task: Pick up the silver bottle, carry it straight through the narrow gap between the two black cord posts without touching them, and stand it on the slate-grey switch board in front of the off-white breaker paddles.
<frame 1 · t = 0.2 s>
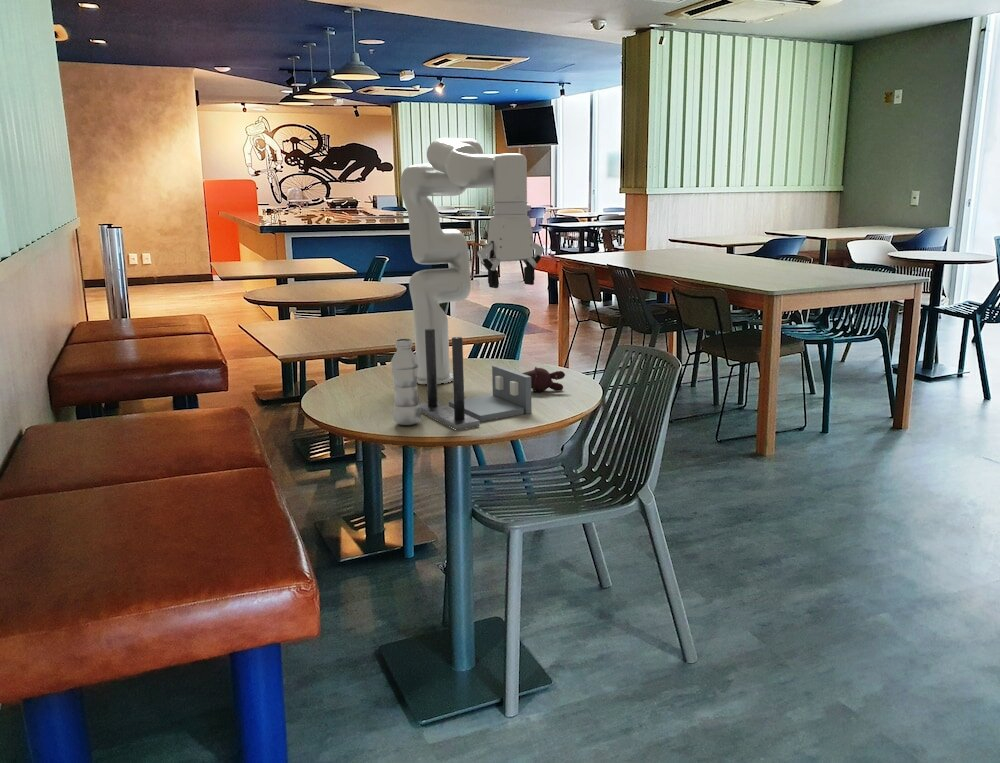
hand: (511, 286, 185), 31 cm above the table, tool pointing down, fingers open, 9 cm apart
switch board: (485, 410, 197), on the table
cord gate: (445, 418, 191), on the table
dark brown rounded figure: (536, 392, 215), on the table
silver bottle: (407, 425, 186), on the table
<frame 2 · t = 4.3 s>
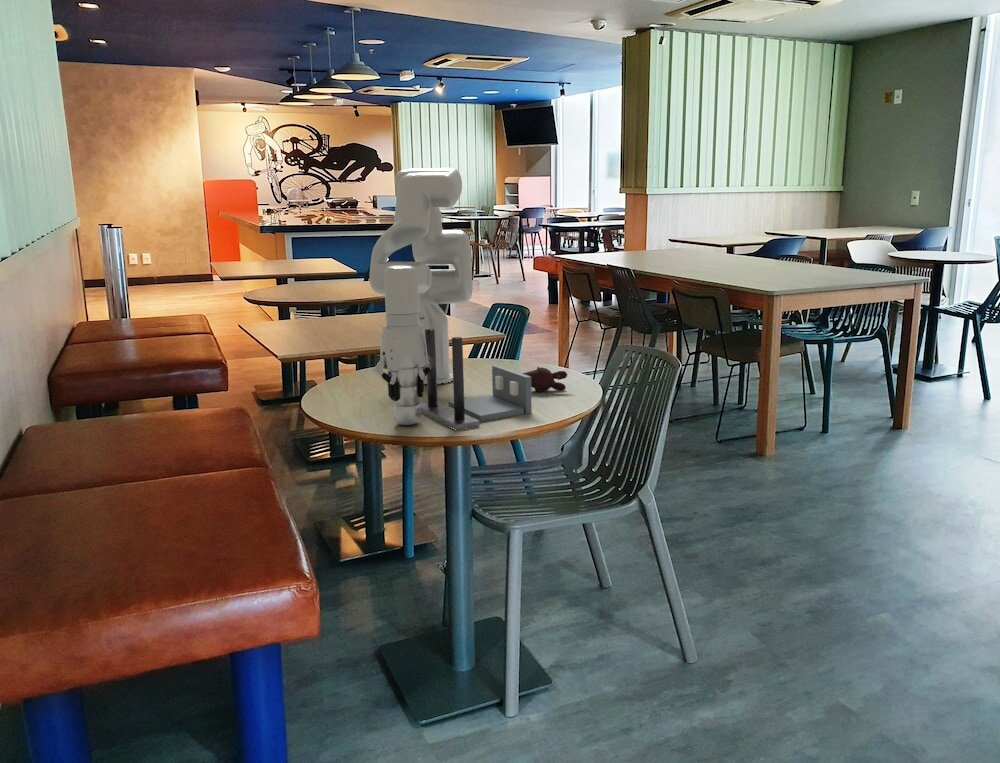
hand: (406, 397, 185), 7 cm above the table, tool pointing down, fingers closed on silver bottle, 5 cm apart
silver bottle: (407, 425, 186), on the table, touching gripper
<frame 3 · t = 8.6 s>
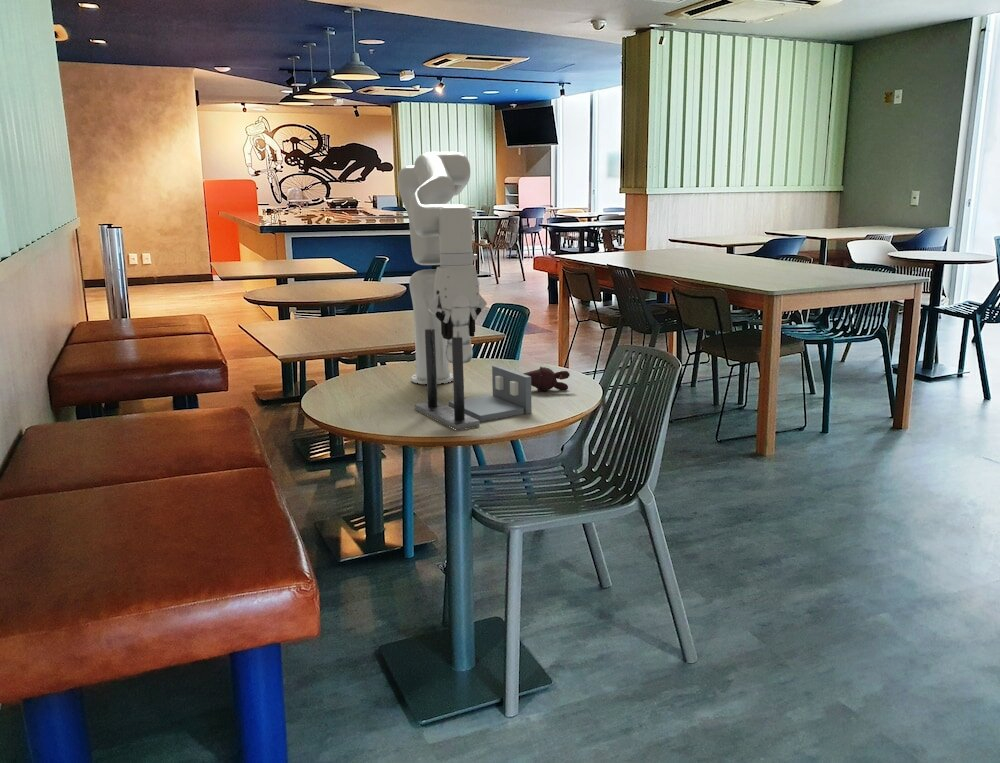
hand: (458, 336, 189), 19 cm above the table, tool pointing down, fingers closed on silver bottle, 5 cm apart
silver bottle: (459, 364, 191), point 12 cm above the table, touching gripper
when the fingers open (9 cm above the table, at t = 13.0 s): silver bottle drops 1 cm, resting on switch board.
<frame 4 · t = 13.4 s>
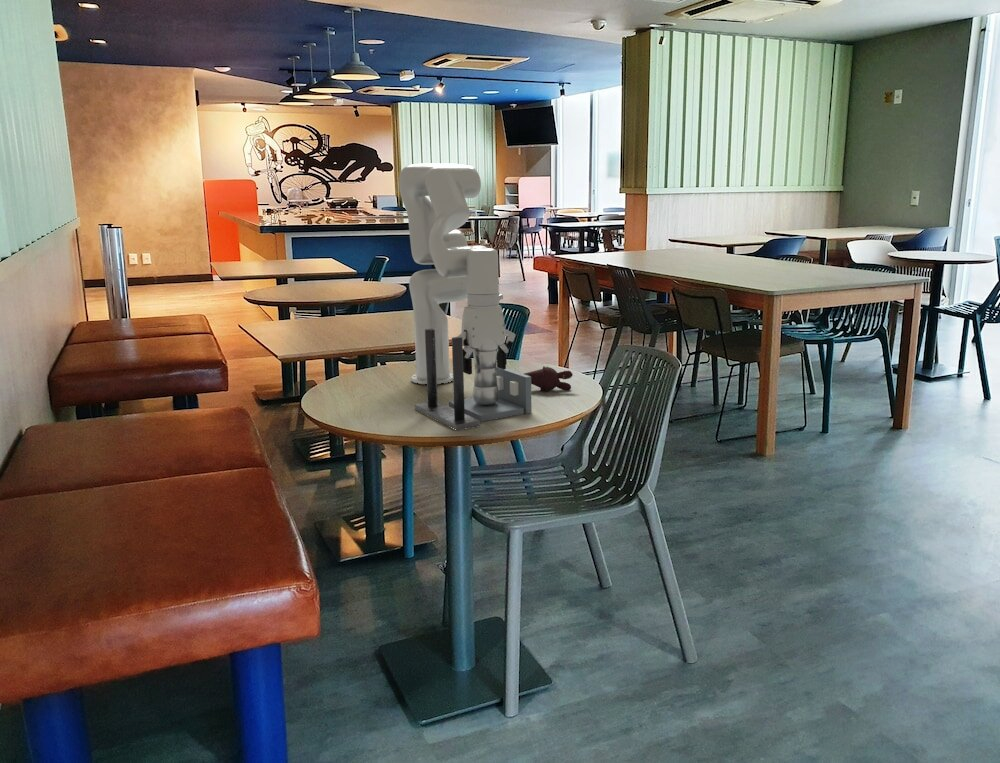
hand: (484, 370, 194), 10 cm above the table, tool pointing down, fingers open, 9 cm apart
silver bottle: (485, 405, 196), point 1 cm above the table, touching switch board
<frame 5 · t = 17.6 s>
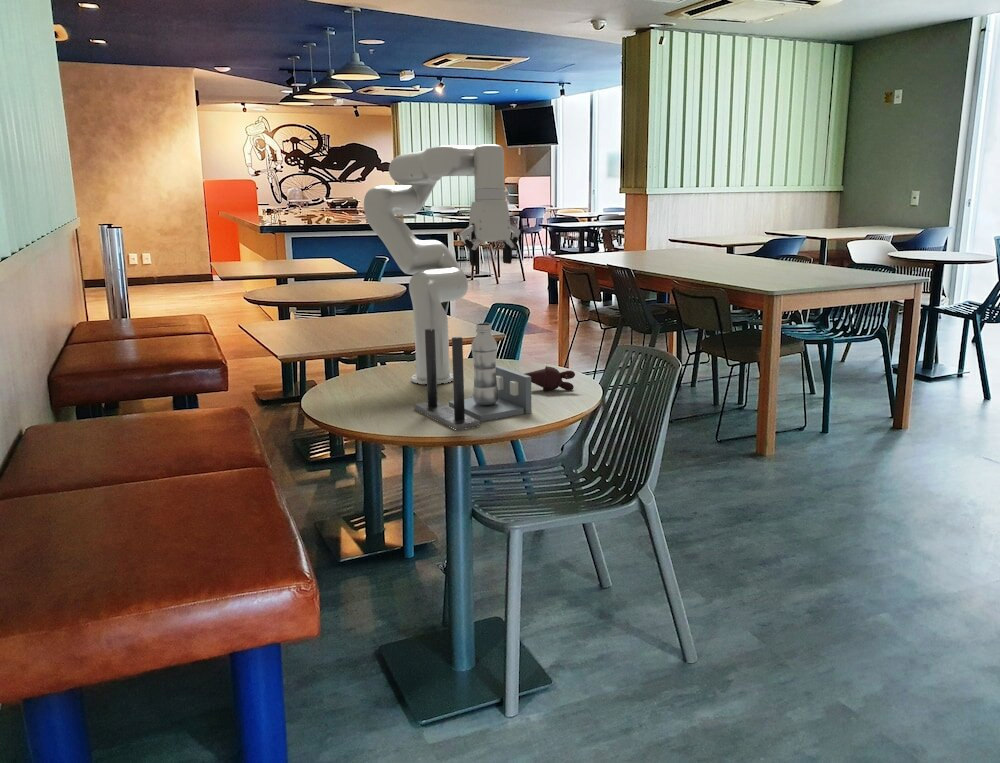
hand: (491, 264, 205), 34 cm above the table, tool pointing down, fingers open, 9 cm apart
at the end: silver bottle inside the target area on the switch board (0.1 cm from its centre), point 1.3 cm above the switch board's base; silver bottle tilted 0°; cord gate moved 0.1 cm from its start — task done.
